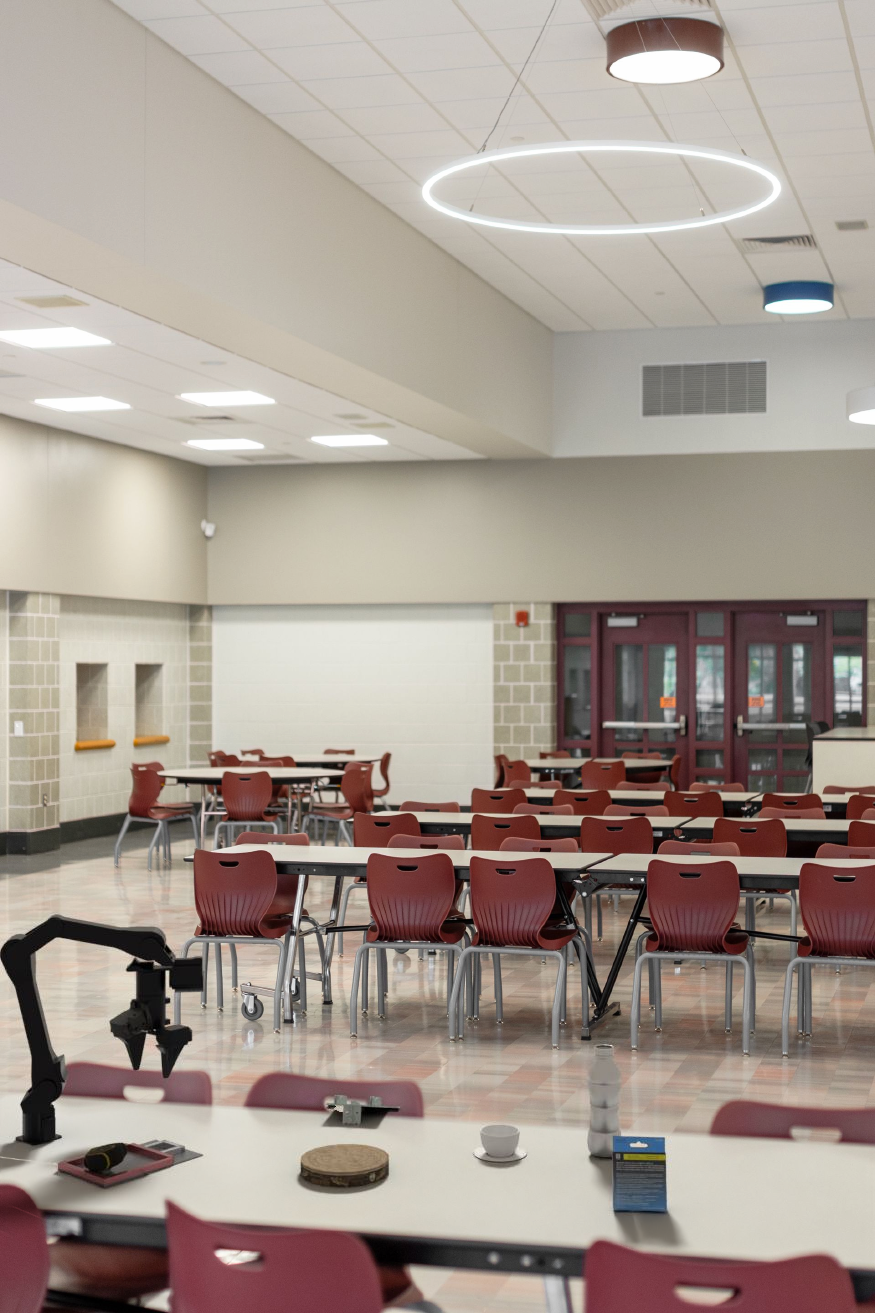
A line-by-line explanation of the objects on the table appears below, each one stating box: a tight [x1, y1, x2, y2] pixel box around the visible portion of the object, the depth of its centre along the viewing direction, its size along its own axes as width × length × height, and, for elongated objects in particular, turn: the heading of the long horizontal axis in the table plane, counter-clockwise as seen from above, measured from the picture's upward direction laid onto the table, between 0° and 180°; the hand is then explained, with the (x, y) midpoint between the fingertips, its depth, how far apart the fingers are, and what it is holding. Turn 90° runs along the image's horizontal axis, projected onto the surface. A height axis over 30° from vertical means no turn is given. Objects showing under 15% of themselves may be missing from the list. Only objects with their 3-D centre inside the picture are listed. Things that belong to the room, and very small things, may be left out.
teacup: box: [472, 1123, 528, 1163], centre depth 272 cm, size 10×10×5 cm
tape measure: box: [84, 1142, 127, 1172], centre depth 262 cm, size 7×7×4 cm
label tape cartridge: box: [611, 1135, 668, 1213], centre depth 243 cm, size 9×4×12 cm, turn 83°
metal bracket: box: [325, 1094, 401, 1125], centre depth 296 cm, size 14×6×15 cm
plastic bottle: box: [586, 1044, 622, 1158], centre depth 271 cm, size 6×7×20 cm
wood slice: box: [300, 1143, 390, 1189], centre depth 262 cm, size 16×16×3 cm
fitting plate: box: [57, 1139, 204, 1190], centre depth 267 cm, size 14×22×2 cm, turn 139°
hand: (150, 1074), depth 284 cm, fingers open, 9 cm apart
